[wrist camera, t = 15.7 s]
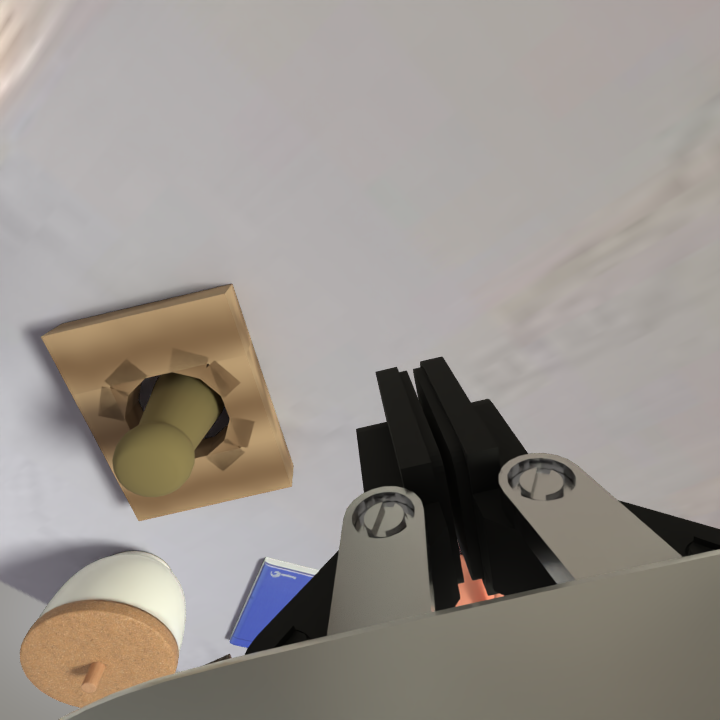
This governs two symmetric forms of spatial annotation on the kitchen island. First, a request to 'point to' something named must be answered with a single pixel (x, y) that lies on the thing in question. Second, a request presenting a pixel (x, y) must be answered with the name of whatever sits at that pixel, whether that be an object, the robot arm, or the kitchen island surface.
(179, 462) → the cork
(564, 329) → the kitchen island surface
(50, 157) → the kitchen island surface
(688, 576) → the robot arm
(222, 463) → the holder board
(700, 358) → the kitchen island surface
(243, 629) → the hard drive
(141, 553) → the lidded bowl
